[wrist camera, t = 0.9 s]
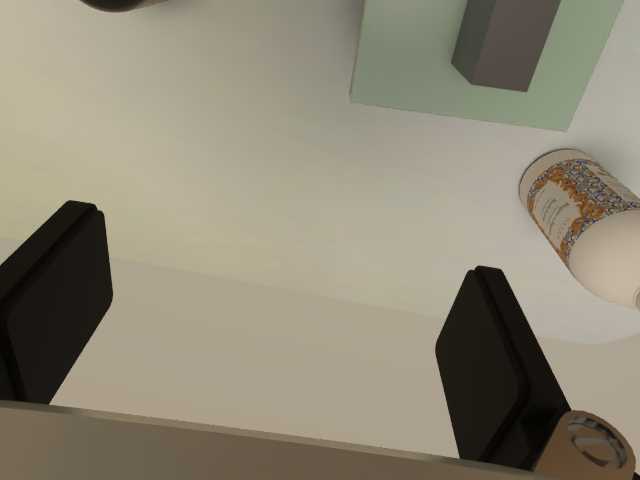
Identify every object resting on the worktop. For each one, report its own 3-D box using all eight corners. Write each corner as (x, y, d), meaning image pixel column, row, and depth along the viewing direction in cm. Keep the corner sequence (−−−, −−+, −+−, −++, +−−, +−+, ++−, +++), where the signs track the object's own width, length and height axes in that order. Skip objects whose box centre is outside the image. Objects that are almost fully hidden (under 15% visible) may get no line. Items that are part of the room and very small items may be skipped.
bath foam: (537, 140, 41) (677, 277, 24) (609, 155, 41) (795, 300, 24) (505, 206, 44) (606, 365, 28) (571, 220, 45) (710, 383, 28)
